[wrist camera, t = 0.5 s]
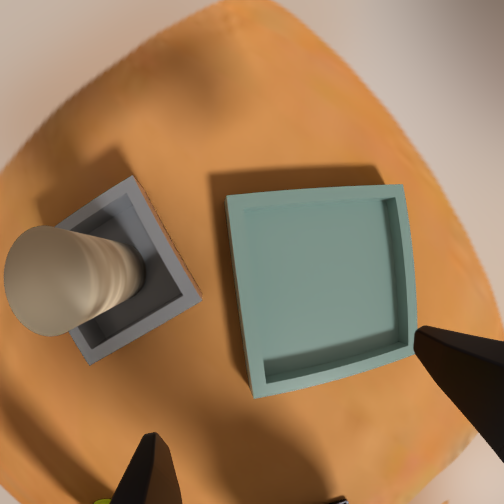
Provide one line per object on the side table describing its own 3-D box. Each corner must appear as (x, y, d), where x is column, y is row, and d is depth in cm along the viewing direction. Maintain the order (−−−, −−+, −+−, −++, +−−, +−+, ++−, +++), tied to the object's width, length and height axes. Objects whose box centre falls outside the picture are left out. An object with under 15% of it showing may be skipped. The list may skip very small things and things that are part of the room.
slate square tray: (202, 293, 22) (202, 300, 18) (106, 349, 20) (89, 365, 16) (144, 189, 21) (132, 175, 17) (53, 249, 20) (27, 247, 16)
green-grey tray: (402, 347, 24) (417, 353, 22) (249, 386, 22) (253, 398, 20) (388, 189, 24) (402, 184, 22) (224, 201, 22) (226, 195, 20)
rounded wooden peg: (150, 296, 20) (98, 333, 9) (97, 302, 19) (13, 337, 9) (142, 239, 20) (83, 217, 9) (90, 246, 20) (0, 234, 9)
